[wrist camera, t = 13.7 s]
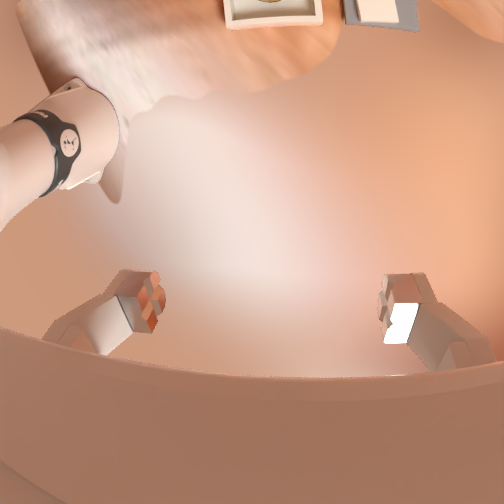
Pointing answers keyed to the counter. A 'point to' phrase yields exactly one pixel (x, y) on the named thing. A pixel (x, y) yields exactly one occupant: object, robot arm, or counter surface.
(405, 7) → the slate board
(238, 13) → the bin
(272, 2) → the sauce bottle
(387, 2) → the tile
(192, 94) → the counter surface
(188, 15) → the counter surface
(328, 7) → the counter surface
